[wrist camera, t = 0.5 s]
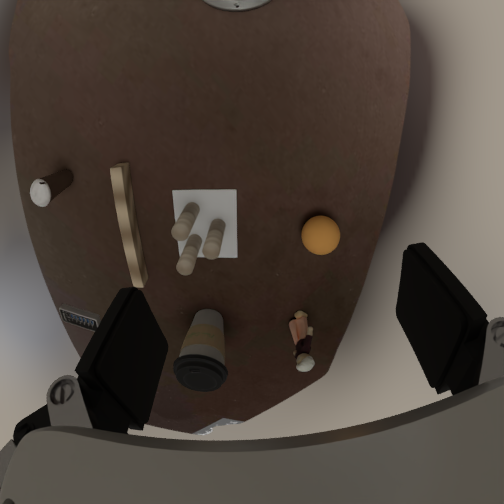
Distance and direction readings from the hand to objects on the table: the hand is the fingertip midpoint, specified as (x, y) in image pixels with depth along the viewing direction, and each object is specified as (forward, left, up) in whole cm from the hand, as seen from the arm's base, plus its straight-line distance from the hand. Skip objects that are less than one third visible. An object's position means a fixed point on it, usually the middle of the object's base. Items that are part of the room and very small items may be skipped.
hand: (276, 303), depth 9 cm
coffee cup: (+34, -9, -34) cm, 49 cm away
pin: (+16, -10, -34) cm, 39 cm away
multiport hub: (+36, -42, -35) cm, 65 cm away
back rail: (+13, -21, -34) cm, 42 cm away
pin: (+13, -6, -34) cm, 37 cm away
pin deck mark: (+13, -8, -34) cm, 37 cm away
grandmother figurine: (+34, +9, -34) cm, 49 cm away
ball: (+13, +10, -31) cm, 35 cm away
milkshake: (+3, -33, -34) cm, 48 cm away
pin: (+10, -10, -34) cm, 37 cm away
